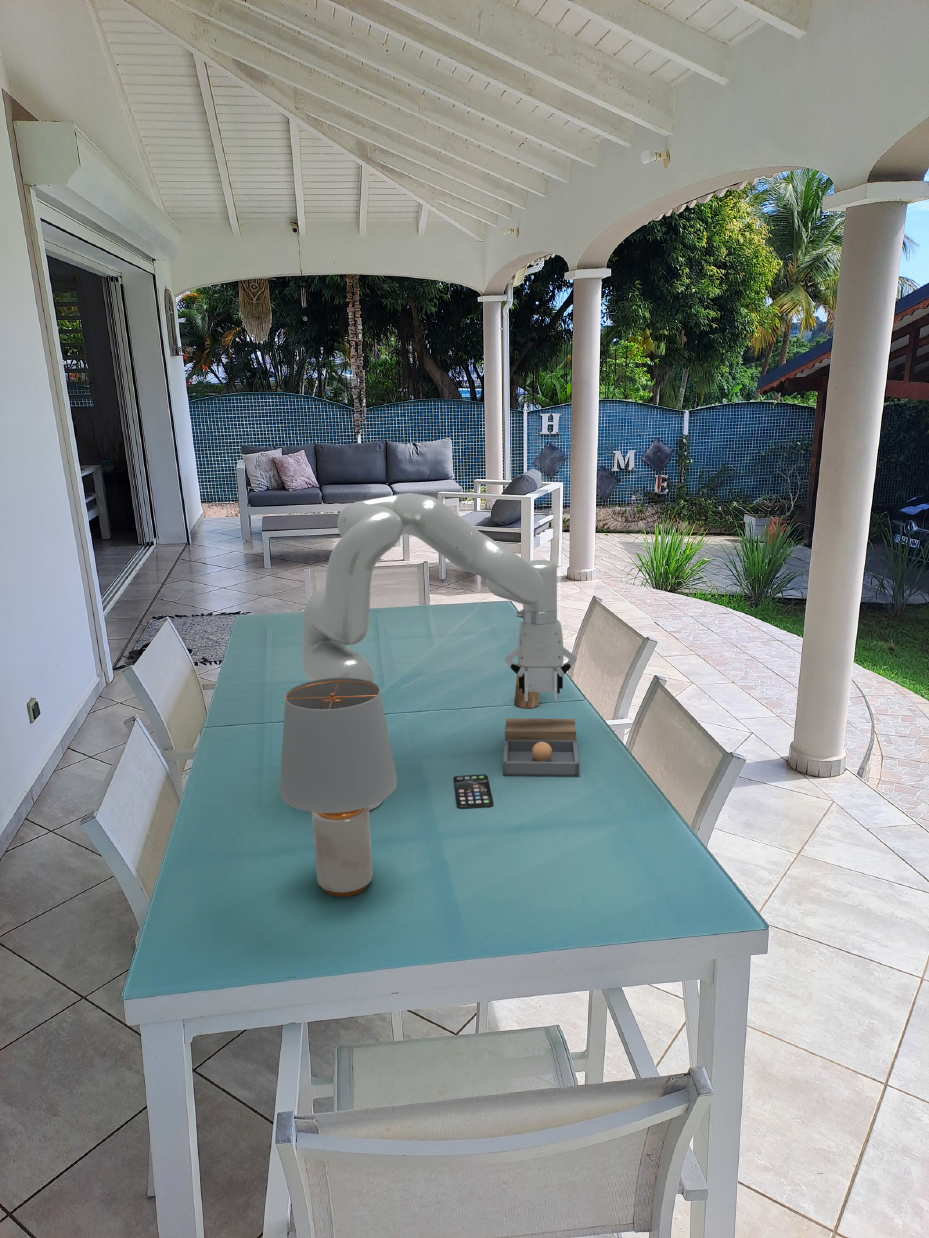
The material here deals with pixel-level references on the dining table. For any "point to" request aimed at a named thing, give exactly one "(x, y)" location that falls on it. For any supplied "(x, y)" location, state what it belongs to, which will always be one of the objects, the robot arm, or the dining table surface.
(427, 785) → the dining table surface
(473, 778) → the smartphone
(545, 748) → the ball
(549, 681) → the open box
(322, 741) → the lamp
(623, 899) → the dining table surface
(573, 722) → the ledge
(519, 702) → the sculpture
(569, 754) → the tray
